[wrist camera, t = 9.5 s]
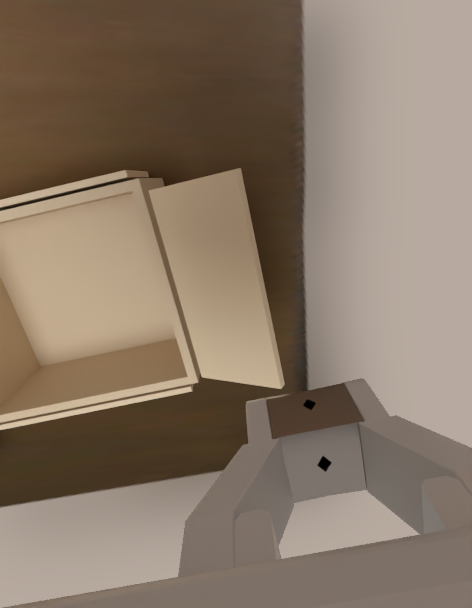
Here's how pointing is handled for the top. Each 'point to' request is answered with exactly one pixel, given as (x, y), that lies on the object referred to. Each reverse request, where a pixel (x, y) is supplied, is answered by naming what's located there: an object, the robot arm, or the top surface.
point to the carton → (87, 302)
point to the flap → (219, 277)
